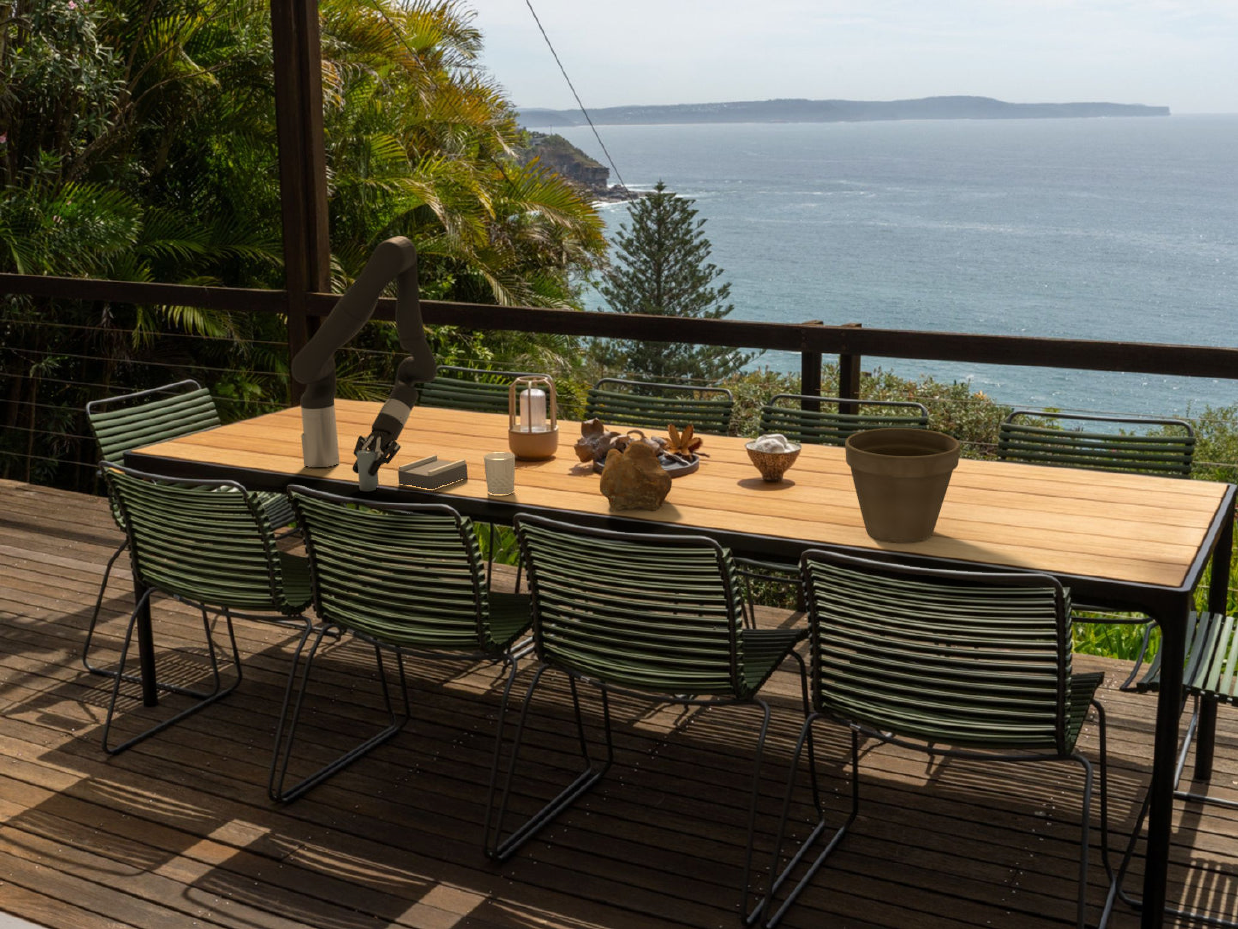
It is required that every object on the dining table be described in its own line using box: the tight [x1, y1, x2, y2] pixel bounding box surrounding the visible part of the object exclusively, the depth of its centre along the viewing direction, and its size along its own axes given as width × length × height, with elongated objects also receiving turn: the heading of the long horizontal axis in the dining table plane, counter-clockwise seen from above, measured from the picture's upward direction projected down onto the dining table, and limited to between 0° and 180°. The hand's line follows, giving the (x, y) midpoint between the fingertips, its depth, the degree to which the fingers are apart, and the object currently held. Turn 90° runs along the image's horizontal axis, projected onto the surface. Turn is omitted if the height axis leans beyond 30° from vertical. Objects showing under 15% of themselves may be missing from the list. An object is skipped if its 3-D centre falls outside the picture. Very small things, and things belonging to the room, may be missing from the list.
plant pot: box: [844, 427, 961, 544], centre depth 267 cm, size 25×25×22 cm
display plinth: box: [397, 454, 468, 489], centre depth 321 cm, size 14×12×5 cm
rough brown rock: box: [599, 440, 673, 511], centre depth 295 cm, size 23×17×15 cm
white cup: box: [483, 451, 516, 494], centre depth 308 cm, size 8×8×10 cm
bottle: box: [356, 449, 380, 492], centre depth 315 cm, size 5×5×10 cm
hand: (363, 473), depth 314 cm, fingers closed on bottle, 5 cm apart
